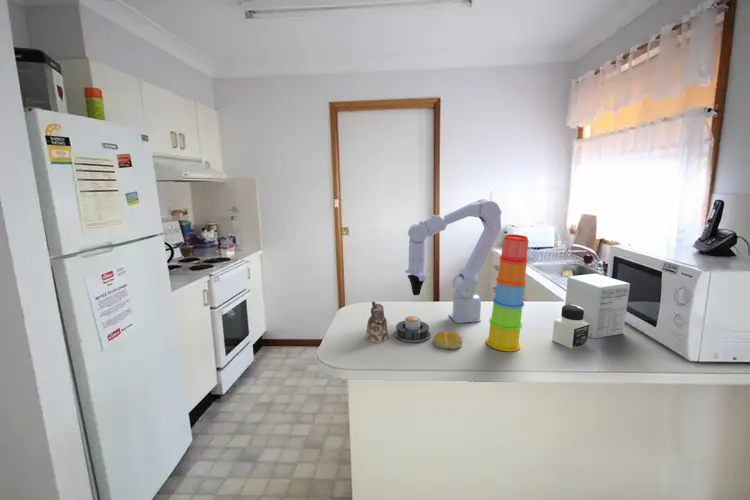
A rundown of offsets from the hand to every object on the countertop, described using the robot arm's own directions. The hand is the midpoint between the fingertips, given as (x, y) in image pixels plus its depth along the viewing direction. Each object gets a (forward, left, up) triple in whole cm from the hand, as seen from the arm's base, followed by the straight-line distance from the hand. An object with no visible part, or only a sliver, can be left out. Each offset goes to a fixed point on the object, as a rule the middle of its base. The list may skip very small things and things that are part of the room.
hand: (416, 294), depth 135 cm
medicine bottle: (-42, +28, -10) cm, 51 cm away
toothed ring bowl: (+5, +13, -9) cm, 17 cm away
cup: (+5, +13, -9) cm, 17 cm away
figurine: (+17, +13, -10) cm, 23 cm away
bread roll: (-4, +21, -10) cm, 24 cm away
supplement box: (-57, +20, -10) cm, 61 cm away
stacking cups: (-21, +25, -10) cm, 34 cm away
